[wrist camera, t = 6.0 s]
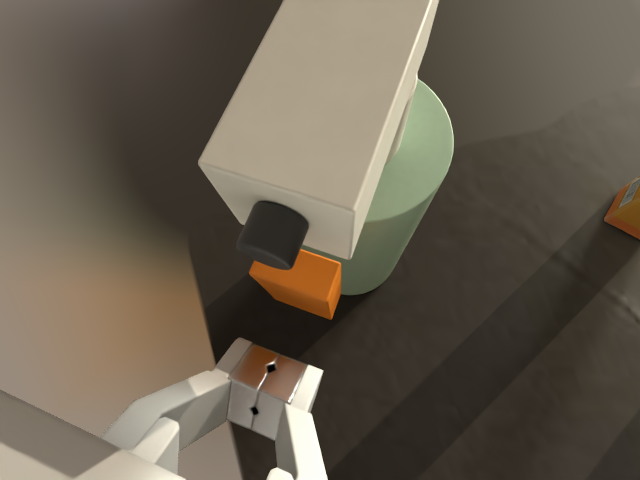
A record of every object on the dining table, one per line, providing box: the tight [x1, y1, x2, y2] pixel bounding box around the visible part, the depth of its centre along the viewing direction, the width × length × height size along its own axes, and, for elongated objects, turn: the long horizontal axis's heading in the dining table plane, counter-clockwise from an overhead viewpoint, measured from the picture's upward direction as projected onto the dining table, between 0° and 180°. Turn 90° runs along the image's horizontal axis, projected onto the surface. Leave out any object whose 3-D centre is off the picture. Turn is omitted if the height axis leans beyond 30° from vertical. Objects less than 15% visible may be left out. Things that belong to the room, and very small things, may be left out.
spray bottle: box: [198, 0, 454, 295], centre depth 17 cm, size 10×7×20 cm
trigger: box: [249, 249, 341, 320], centre depth 12 cm, size 1×2×4 cm, turn 70°
